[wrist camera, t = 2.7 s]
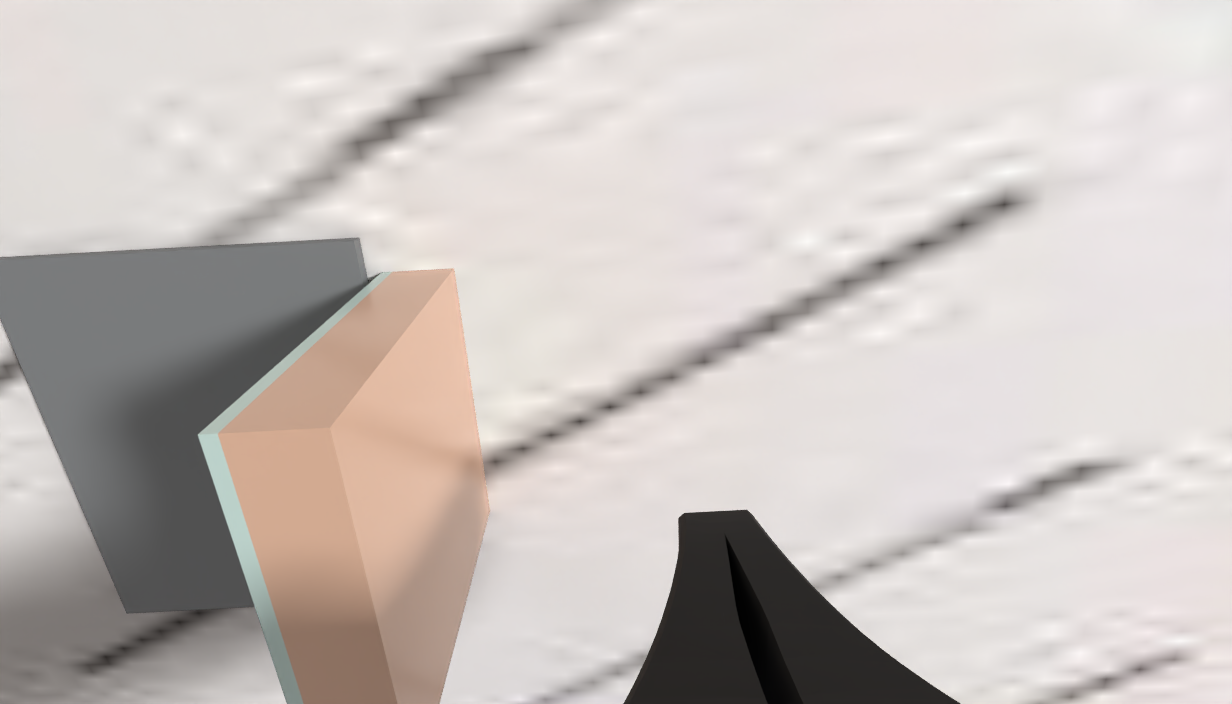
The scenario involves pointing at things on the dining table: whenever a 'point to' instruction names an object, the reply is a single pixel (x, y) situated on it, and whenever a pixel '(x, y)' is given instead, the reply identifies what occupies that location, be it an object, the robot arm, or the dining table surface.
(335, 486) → the peach green flat block
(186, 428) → the mat
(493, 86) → the dining table surface
